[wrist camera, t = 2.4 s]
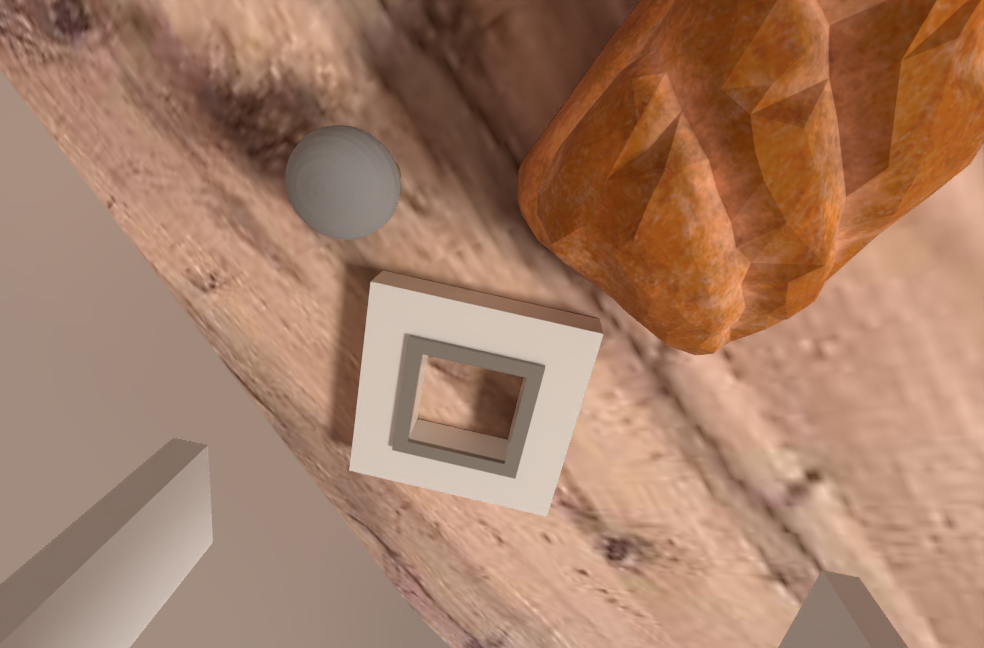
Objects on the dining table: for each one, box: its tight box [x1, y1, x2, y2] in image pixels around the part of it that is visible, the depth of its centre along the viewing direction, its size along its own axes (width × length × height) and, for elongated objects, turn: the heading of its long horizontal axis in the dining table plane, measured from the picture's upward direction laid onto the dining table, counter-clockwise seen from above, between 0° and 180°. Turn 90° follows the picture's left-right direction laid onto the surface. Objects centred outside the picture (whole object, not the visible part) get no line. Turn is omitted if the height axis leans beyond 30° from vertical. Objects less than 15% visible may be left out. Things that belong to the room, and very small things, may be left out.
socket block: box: [349, 271, 603, 517], centre depth 36 cm, size 15×15×3 cm
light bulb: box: [285, 125, 401, 240], centre depth 27 cm, size 5×6×10 cm
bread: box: [518, 0, 984, 355], centre depth 21 cm, size 14×26×16 cm, turn 143°
